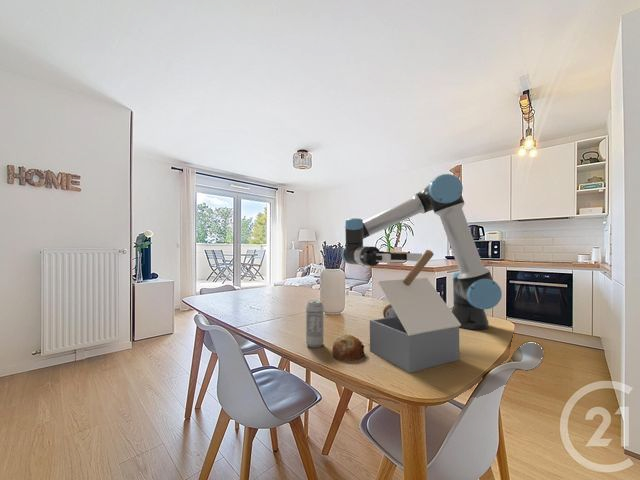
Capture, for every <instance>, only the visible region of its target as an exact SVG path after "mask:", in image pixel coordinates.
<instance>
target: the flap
mask: <svg viewBox="0 0 640 480" xmlns="http://www.w3.org/2000/svg"><path fill="white" fill-rule="evenodd" d="M434 255H435V254H434V252H433V250H430V249H426V250H425V251H424V253H422V257H421V258H420V259H419V261H416V263H415V265H414V266H413V267H412V269H410V271H409V272H408V274H407V275H406V276H405V277H404V279H390V280H379V281H378V282H377V283H378V285H379V286H380V288H381V291H382V292H383V293H384V295H385V298H386V299H387V300H388V303H389V305H390V304H391V306H392V308H393V309H394V311H395V313H396V315H397V316H398V318H399V320H400V322H401V323H402V325H403V327H404V329H405V330H406V332H407V334H408V336H410V335H416V334H421V333H426V332H432V331H437V330H443V329H448V328H453V327H459V326H461V324H460V322H459V321H458V320H457V318H456V317H455V316H454V314H453V313H452V309H450V307H449V306H448V305H447V303H446V302H445V301H444V299H443V297H442V296H441V295H440V294H439V292H438V291H437V289H436V287H434V285H433V284H432V283H431V281H430V280H429V279H428V277H419V278H417V277H418V275H419V274H420V273H421V272H422V270H424V268H425V266H426V265H427V264H428V263H429V261H430V260H431V259H432V258H433V257H434ZM459 328H460V327H459Z"/></svg>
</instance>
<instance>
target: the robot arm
mask: <svg viewBox="0 0 640 480" xmlns="http://www.w3.org/2000/svg"><path fill="white" fill-rule="evenodd" d="M463 189H464V188H463V183H462V181H461V180H460V178H459V177H457V176H455V175H453V174H450V173H445V174H444V173H443V174H440V175H437V176H436V177H435V178H433V179H432V180H431V181H430V182H429V184H428V185H426V187H425V188H423V189H422V190H420V191H418V192H417V193H416V194H413V197H411V198H410V199H408V200H406V201H403V202H401V203H399V204H397V205H395V206H393V207H391V208H389V209H387V210H384V211H382V212H380V213H378V214H376V215H374V216H372V217H370V218H368V219H365V220H363V219H362V218H358V217H357V218H355V217H354V218H347V219H346V220H345V226H344V228H345V245H344V248H343V249H342V251H341V254H340V256H341V260H342V261H343V262H344V263H346V264H350V265H359V266H362V267H365V266H368V267H374V266H378V264H379V263H387V264H388V263H392V261H408V262H418V261H419V259H420V258H421V257H422V255H423V253H417V252H416V253H413V252H411V251H409V250H408V251H407V253H406V252H404V253H403V252H400V253H399V252H397V253H396V252H391V251H383V250H380V249H379V248H378V247H376V246H368V245H367V246H364V240H365V239H366V238H368V237H370V236H373V235H375V234H377V233H379V232H381V231H383V230H386V229H388V228H391V227H392V226H394V225H396V224H399V223H400V222H403V221H405V220H407V219H410V218H412V217H414V216H416V215H419V214H426V213H428V212H432V211H433V213H434V215H437V216H439V218H440V221H441V223H442V225H443V226H442V227H443V230H444V233H445V235H446V238H447V240H448V243H449V245H450V249H451V251H452V255H453V257H454V260H455V262H456V266H457V268H458V271H456V272H454V273H453V276H452V277H453V278H452V281H453V283H452V284H453V285H452V287H453V290H452V291H453V293H452V295H453V296H452V297H453V299H452V300H453V307H452V309H451V311H452V313H453V314H454V316H455V317H456V318H457V320H458V321H459V322H460V324H461V326H459V328H462V329H467V330H486V329H488V328H489V327H490V326H489V319H488V317H487V314H486V311H485V310H490V309H493V308H494V307H496V306H497V305H498V304H499V303H500V301H501V300H502V293H503V292H502V289H501V287H500V285H499V284H498V282H496V281H495V280H494V279H493V276H492V274H491V271H490V269H488V268H487V267H485V266H484V265H483V263H482V260H481V257H480V254H479V251H478V248H477V246H476V242H475V241H474V240H475V239H474V238H473V235H472V232H471V229H470V226H469V224H468V221H467V219H466V216H465V215H466V214H465V213H464V211H463V208H464V205H465V201H464V198H463V195H462V194H463Z"/></svg>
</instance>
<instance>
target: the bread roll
mask: <svg viewBox="0 0 640 480" xmlns="http://www.w3.org/2000/svg"><path fill="white" fill-rule="evenodd" d="M334 340H335V341H334V342H333V345H332V350H331V352H332V354H333V356H334V358H336V359H339V360H344V361H349V360H358V359H360V358H362V356H363V355H364V353H365V352H364V351H365V345H364V344H363V342H362V341H361V340H360V339H359V338H358V337H355V336H354V335H351V334H347V333H346V334H345V333H344V334H341V335H340V336H338V337H336V339H334Z"/></svg>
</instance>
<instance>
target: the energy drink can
mask: <svg viewBox="0 0 640 480" xmlns="http://www.w3.org/2000/svg"><path fill="white" fill-rule="evenodd" d="M305 309H306V310H305V312H306V313H305V318H306V319H305V321H306V322H305V327H306V329H305V334H306V335H305V340H306V341H305V342H306V344H307V347H308V348H309V347H310V348H320V347H322V345H323V344H324V306H323V304H322V301H321V300H309V301H307V305H306V306H305Z"/></svg>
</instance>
